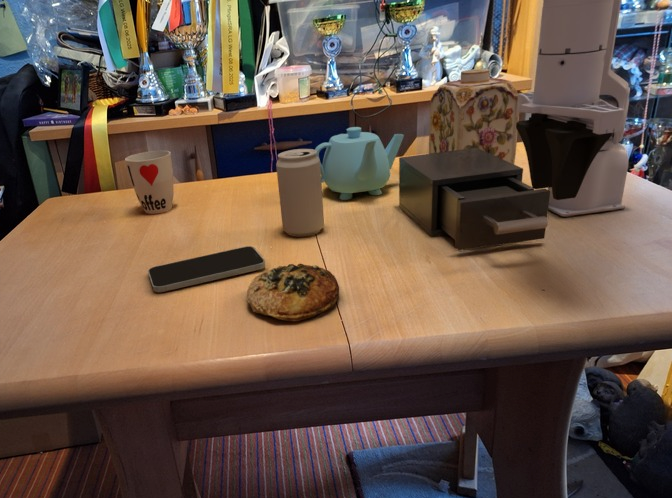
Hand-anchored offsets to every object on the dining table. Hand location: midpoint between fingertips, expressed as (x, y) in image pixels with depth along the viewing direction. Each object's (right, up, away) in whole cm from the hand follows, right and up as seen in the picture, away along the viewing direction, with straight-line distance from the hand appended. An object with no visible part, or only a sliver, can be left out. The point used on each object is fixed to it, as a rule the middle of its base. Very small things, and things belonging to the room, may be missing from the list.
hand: (553, 192), depth 58 cm
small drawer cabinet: (-2, +2, +27) cm, 27 cm away
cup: (-51, +6, +46) cm, 69 cm away
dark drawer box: (-1, -2, +17) cm, 17 cm away
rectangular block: (-1, -1, +16) cm, 16 cm away
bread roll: (-27, -12, +7) cm, 30 cm away
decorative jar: (+8, +13, +47) cm, 50 cm away
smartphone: (-38, -8, +17) cm, 43 cm away
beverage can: (-25, -1, +28) cm, 37 cm away
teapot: (-13, +8, +43) cm, 46 cm away
